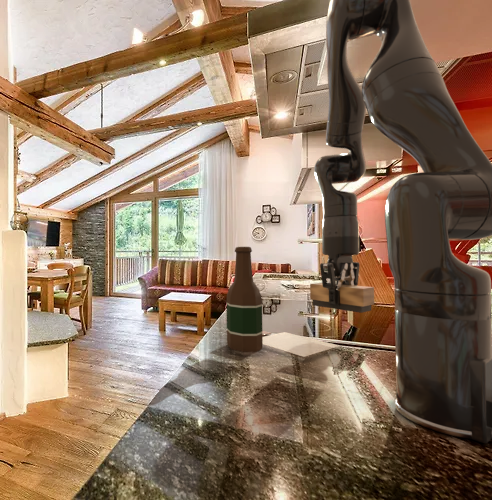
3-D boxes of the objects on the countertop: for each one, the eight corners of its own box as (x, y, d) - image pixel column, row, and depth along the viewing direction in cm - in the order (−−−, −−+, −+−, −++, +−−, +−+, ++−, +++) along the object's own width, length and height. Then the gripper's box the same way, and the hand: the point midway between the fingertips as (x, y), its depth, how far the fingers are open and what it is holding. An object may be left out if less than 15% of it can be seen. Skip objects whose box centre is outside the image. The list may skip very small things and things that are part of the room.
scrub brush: (374, 310, 69) (374, 287, 69) (363, 313, 67) (363, 288, 67) (321, 303, 80) (321, 282, 80) (310, 305, 77) (310, 283, 77)
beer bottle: (270, 354, 66) (269, 246, 67) (242, 358, 64) (241, 246, 64) (246, 344, 74) (245, 247, 74) (220, 348, 71) (218, 247, 71)
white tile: (340, 349, 69) (340, 345, 69) (304, 361, 62) (304, 356, 62) (284, 335, 81) (284, 332, 81) (249, 344, 74) (249, 340, 74)
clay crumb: (271, 337, 79) (271, 333, 79) (261, 339, 77) (261, 335, 77) (258, 334, 83) (258, 329, 83) (249, 336, 81) (248, 331, 81)
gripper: (341, 234, 66) (342, 310, 66) (371, 235, 74) (372, 304, 73) (307, 235, 73) (308, 305, 73) (339, 236, 80) (339, 300, 80)
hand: (340, 304), depth 73 cm, fingers closed on scrub brush, 5 cm apart
